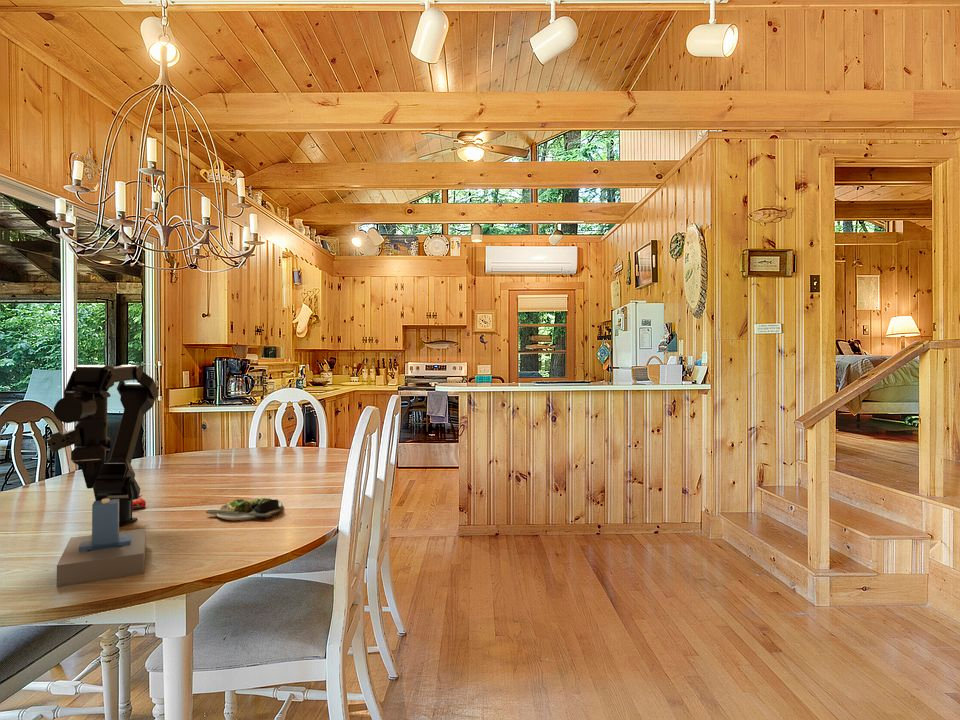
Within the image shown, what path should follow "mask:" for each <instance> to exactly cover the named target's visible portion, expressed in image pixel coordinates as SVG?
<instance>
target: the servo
mask: <svg viewBox="0 0 960 720" xmlns="http://www.w3.org/2000/svg"><path fill="white" fill-rule="evenodd" d="M91 507H92V508H91V514H92V516H91V527H92V528H91V535H92V541H85V542H81V543H80V546H79V551H85V550H92V551H94V550H101V549H109V548H116V547H119V546H123V545H130V542H131V536H126V537H119V532H120V527H119V499H113V500H110V498H105V499H102V501H96V500H95V501H93V502H92V505H91Z"/></svg>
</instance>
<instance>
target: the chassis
mask: <svg viewBox="0 0 960 720" xmlns="http://www.w3.org/2000/svg"><path fill="white" fill-rule="evenodd" d="M126 536H131V542H130V545H123V546H119V547H116V548H109V549H101V550H94V551H92V550H85V551H79V546H80V543H81V542H85V541H92V534H89V535H83V536H82V535H81V536H73V537H70V538H69V540H68V542H67V545H65V546H66V547H65V548H64V550H63V552H62V555H61V556H60V558H59V560H58V562H57V565H56V587H62V586H69V585H75V584H83V583H88V582H95V581H101V580H108V579H115V578H121V577H126V576H134V575H141V574H144V571H145V560H146V549H147V528H139V529H132V530H131V529H130V530H124V531H122V530H121V531H119V537H126Z"/></svg>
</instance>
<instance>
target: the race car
mask: <svg viewBox="0 0 960 720" xmlns="http://www.w3.org/2000/svg"><path fill="white" fill-rule="evenodd" d="M142 496H143V495H140V494H139V498H138V499H135V500H132V511H134V510H138V509H142V508H143V509H144V508H146V503H147V502H146V499H144V498H142Z"/></svg>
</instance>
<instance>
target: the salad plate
mask: <svg viewBox="0 0 960 720" xmlns="http://www.w3.org/2000/svg"><path fill="white" fill-rule="evenodd" d="M282 509H283V502H282V501H281V500H279V499H272V498H270V497H269V498H267V497H266V498H265V497H260V498H255V499H253V500H250V501H248V500H246V499H243V498H241V499H236V498H235V499H233V500H232V501H231V502H228V503H227V502H226V503H225V504H222V505H221V506H220V507H219V509H217V510H216V509H208V510H206V511H205V513H206V514H208V515H213V516H216V517H217V518H220V519H222V520H226V521H230V520H231V522H232V521H233V522H234V521H235V522H238V521H237V520H240V521H252V520H251V519H258V520H264V519H263V518H267V519H270V518H269V517H271V518H274V517H273V516H275V517H277V516H279V515H280V514H281V512H282ZM278 514H279V515H278ZM276 515H277V516H276Z"/></svg>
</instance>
